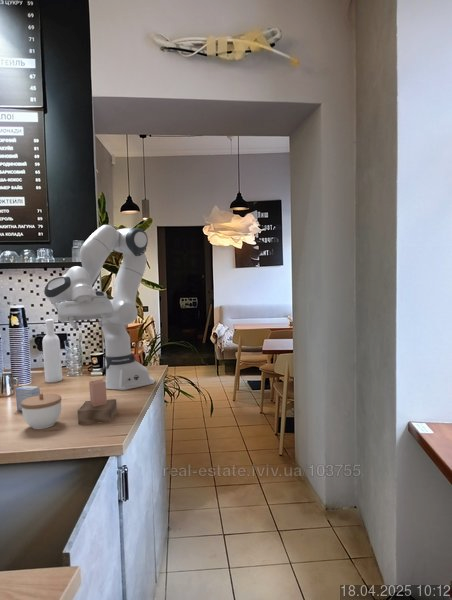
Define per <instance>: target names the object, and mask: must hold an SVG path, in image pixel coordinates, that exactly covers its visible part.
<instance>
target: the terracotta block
mask: <svg viewBox="0 0 452 600" xmlns="http://www.w3.org/2000/svg"><path fill="white" fill-rule="evenodd" d="M88 383H89V384H88V385H89V386H88V387H89V399H90V400H89V401H90V402H91V404H92V405H93V406H94V407H95V406H100V405H105V404H107V400H108V399H107V388H106V382H105V380H103V379H97V380H96V379H95V380H92V381H91V380H90V381H88Z"/></svg>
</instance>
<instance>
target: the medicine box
mask: <svg viewBox="0 0 452 600" xmlns="http://www.w3.org/2000/svg"><path fill="white" fill-rule="evenodd" d="M14 390H15V399H16V400H15V401H16V409H17V411H21V412H22V407H21V402H22V401H23V400H25V399H27V398H30V397H33V396H37V395H39V394H41V388H40V386H36V385H35V386H34V385H23V386H19V387H17V388H15V389H14Z"/></svg>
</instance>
